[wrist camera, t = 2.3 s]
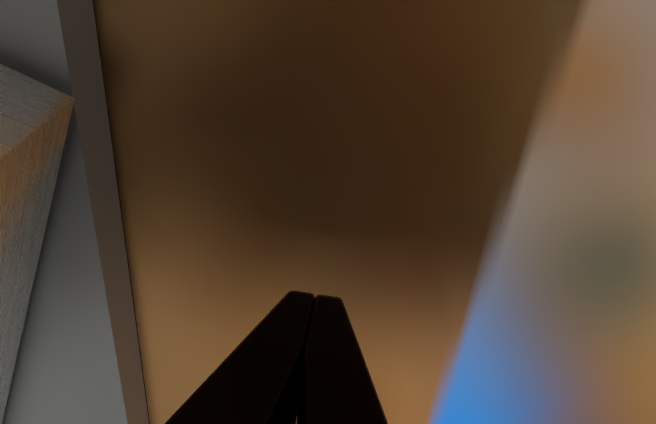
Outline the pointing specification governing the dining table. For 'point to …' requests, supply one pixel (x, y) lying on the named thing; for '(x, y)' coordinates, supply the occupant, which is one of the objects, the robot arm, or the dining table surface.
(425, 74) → the dining table surface
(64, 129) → the tong arm
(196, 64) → the dining table surface
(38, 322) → the grey flat piece
